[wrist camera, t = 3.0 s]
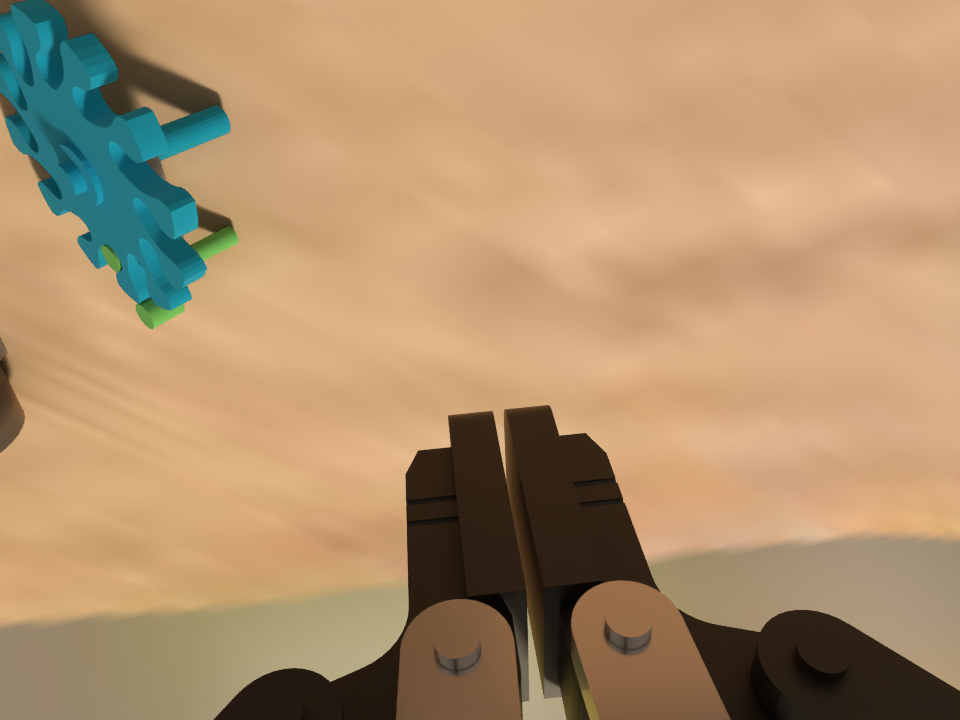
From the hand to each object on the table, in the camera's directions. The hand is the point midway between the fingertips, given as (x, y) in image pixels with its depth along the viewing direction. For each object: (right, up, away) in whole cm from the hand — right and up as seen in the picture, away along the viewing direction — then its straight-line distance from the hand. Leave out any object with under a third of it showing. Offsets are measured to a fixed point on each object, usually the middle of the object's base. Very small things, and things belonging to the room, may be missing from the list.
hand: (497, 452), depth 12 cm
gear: (-13, +9, +15) cm, 22 cm away
